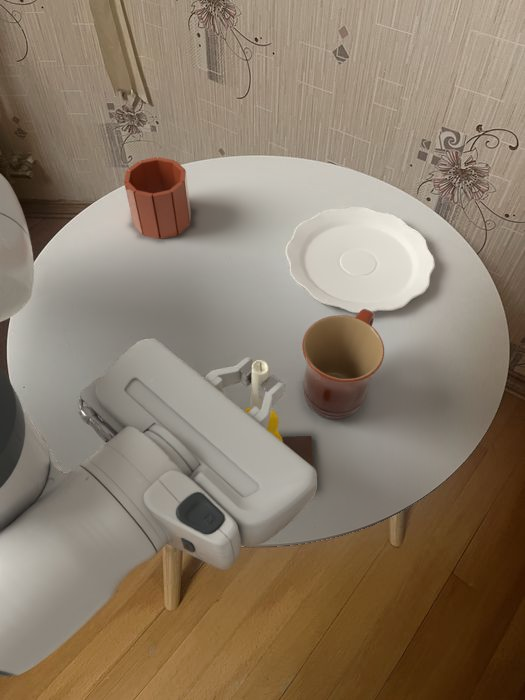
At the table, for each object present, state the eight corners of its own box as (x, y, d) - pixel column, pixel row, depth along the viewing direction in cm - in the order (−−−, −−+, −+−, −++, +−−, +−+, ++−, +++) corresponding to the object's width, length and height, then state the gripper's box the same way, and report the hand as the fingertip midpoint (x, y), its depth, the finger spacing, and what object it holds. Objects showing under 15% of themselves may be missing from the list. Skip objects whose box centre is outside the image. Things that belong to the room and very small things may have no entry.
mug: (349, 441, 65) (363, 394, 57) (283, 407, 68) (287, 357, 59) (391, 367, 71) (408, 315, 63) (329, 338, 74) (338, 285, 66)
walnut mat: (205, 490, 62) (204, 487, 61) (206, 441, 65) (206, 437, 64) (314, 488, 62) (315, 485, 61) (310, 438, 65) (311, 435, 65)
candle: (287, 430, 61) (297, 345, 49) (276, 474, 58) (283, 395, 46) (241, 419, 62) (238, 332, 49) (228, 462, 59) (221, 381, 46)
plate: (461, 272, 81) (464, 264, 80) (356, 344, 73) (358, 336, 72) (359, 197, 91) (360, 189, 89) (257, 254, 83) (257, 246, 81)
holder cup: (131, 239, 84) (121, 196, 78) (137, 200, 90) (128, 157, 83) (189, 239, 85) (183, 196, 78) (192, 200, 90) (186, 156, 83)
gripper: (75, 422, 50) (189, 332, 57) (241, 585, 42) (352, 460, 49) (55, 383, 45) (182, 289, 51) (240, 561, 37) (364, 425, 44)
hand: (266, 373), depth 50 cm, fingers closed on candle
